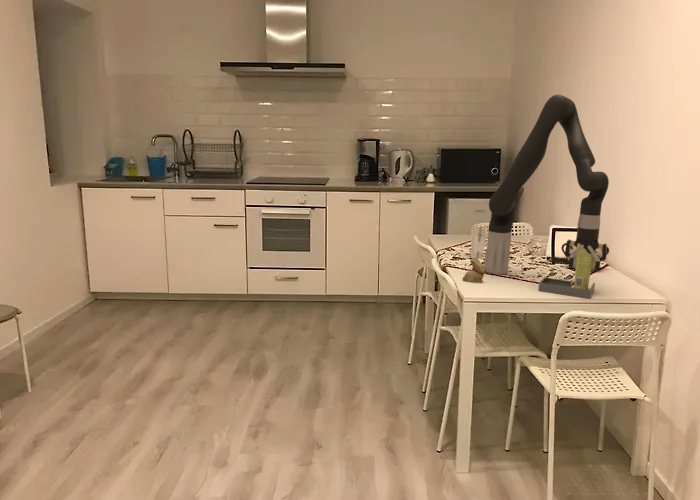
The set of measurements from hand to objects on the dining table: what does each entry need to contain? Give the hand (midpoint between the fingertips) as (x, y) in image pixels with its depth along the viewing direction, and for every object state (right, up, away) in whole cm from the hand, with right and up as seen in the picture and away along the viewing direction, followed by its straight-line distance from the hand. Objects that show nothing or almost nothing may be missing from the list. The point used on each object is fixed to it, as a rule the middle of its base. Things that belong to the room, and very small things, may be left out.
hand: (583, 269), depth 223 cm
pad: (0, -8, +2) cm, 8 cm away
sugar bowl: (+14, -1, +36) cm, 39 cm away
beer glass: (-29, +4, +51) cm, 59 cm away
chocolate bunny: (-39, -5, +11) cm, 41 cm away
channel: (-6, -8, +1) cm, 10 cm away
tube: (0, -8, +2) cm, 8 cm away
